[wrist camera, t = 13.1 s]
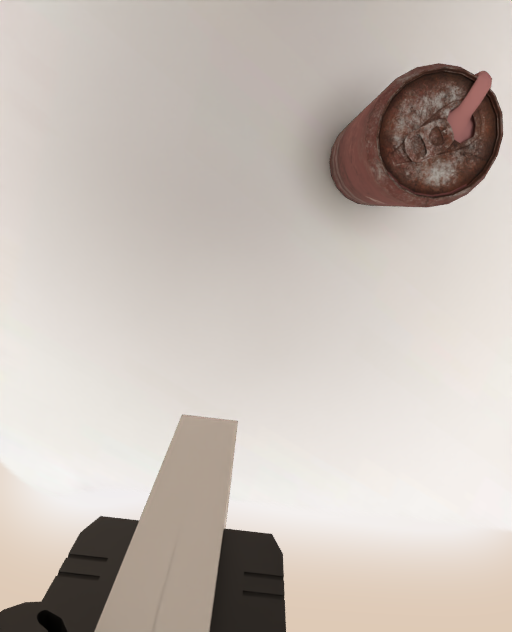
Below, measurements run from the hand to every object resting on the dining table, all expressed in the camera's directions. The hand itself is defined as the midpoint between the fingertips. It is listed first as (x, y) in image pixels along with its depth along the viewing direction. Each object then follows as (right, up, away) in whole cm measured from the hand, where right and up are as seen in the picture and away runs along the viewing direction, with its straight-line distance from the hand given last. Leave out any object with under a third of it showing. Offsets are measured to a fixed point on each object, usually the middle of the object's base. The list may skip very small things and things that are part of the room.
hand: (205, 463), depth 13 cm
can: (+10, +15, +21) cm, 28 cm away
